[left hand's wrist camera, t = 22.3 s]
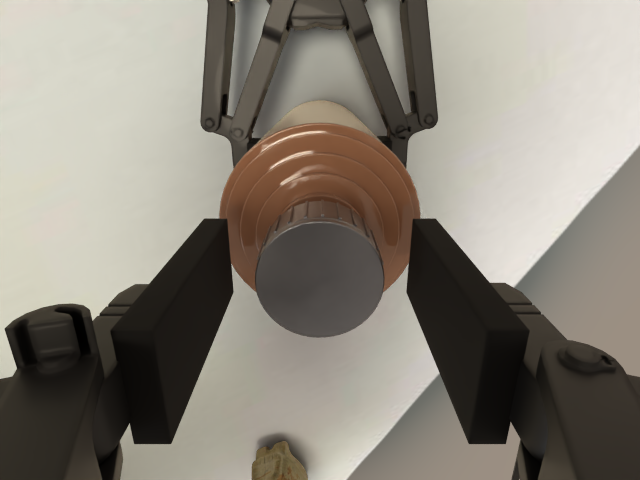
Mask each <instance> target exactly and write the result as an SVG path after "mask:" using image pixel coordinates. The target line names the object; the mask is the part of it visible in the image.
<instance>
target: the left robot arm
mask: <svg viewBox="0 0 640 480" xmlns="http://www.w3.org/2000/svg"><path fill="white" fill-rule="evenodd" d="M232 294H233V281H232V269H231V257H230V245H229V233H228V221H227V219H204V220H203V221H202V222H201V223H200V224H199V226H198V227H197V228H196V229H195V230H194V232H193V233H192V234H191V235H190V236H189V238H188V239H187V240H186V241H185V242H184V243H183V245H182V246H181V247H180V248H179V249H178V251H177V252H176V253H175V254H174V255H173V256H172V258H171V259H170V260H169V261H168V262H167V264H166V265H165V266H164V267H163V268H162V270H161V271H160V272H159V273H158V274H157V275H156V277H155V278H154V279H153V280H152V281H151V283H150V284H135V285H133V286H131V287H130V288H128V289H126V290H124V291H123V292H121V293H119V294H118V295H117V296H116V297H115V298H114V299H113V300H112V301H111V302H110V303H109V304H108V307H106V308H105V309H104V310H103V311H102V312H101V313H100V316H97V317H96V318H95V319H94V320H93V321H92V317H91V313H90V310H89V309H88V308H86V307H85V306H84V305H78V304H58V305H53V306H48V307H43V308H40V309H37V310H35V311H32V312H29V313H26V314H24V315H23V316H21V317H19V318H17V319H15V320H14V321H12V322H11V323H10V324H9V325H8V326H7V327H6V328H5V332H6V335H7V338H8V341H9V344H10V347H11V350H12V354H13V357H14V360H15V363H16V366H17V370H16V372H15V373H14V375H13V377H8V378H3V379H0V480H120V477H121V470H122V463H123V455H122V449H121V444H120V439H121V437H122V436H123V434H124V432H125V430H126V429H127V427H128V425H129V423H130V426H131V431H132V436H133V441H134V444H171V443H172V441H173V438H174V436H175V433H176V431H177V428H178V426H179V423H180V421H181V419H182V416H183V414H184V411H185V409H186V406H187V404H188V402H189V399H190V397H191V394H192V392H193V389H194V387H195V385H196V382H197V380H198V377H199V375H200V372H201V370H202V367H203V365H204V363H205V360H206V358H207V355H208V353H209V350H210V348H211V346H212V343H213V341H214V338H215V336H216V333H217V331H218V329H219V326H220V324H221V321H222V319H223V316H224V314H225V312H226V309H227V307H228V304H229V302H230V299H231V297H232ZM407 294H408V297H409V299H410V302H411V304H412V307H413V309H414V312H415V314H416V316H417V319H418V321H419V324H420V326H421V329H422V331H423V333H424V336H425V338H426V341H427V343H428V346H429V348H430V350H431V353H432V355H433V358H434V360H435V363H436V365H437V368H438V370H439V372H440V375H441V377H442V380H443V382H444V385H445V387H446V389H447V392H448V394H449V397H450V399H451V402H452V404H453V406H454V409H455V411H456V414H457V416H458V419H459V421H460V423H461V426H462V428H463V431H464V433H465V436H466V438H467V440H468V443H469V444H506V440H507V436H508V431H509V426H510V422H511V423H512V425H513V426H514V428H515V430H516V432H517V433H518V435H519V437H520V439H521V440H520V444H519V449H518V453H517V458H516V462H515V466H514V471H513V475H512V480H519V479H520V480H640V377H637V376H631V375H627V374H626V373H625V371H624V369H623V367H622V366H621V365H620V364H619V363H618V362H617V361H616V359H614V358H613V357H611V356H610V355H608V354H607V353H605V352H604V351H602V350H600V349H597V348H595V347H593V346H590V345H588V344H584V343H580V342H576V341H570V340H567V339H566V338H565V337H564V336H563V335H562V334H561V333H560V332H559V331H558V330H557V329H556V328H555V327H554V326H553V324H551V322H550V321H549V320H548V319H547V318H546V317H545V316H544V315H541V312H540V311H539V310H538V309H537V308H536V307H535V306H534V305H532V303H531V301H529V299H528V298H527V297H526V296H525V295H524V294H523V293H522V292H520V291H518V290H517V289H515V288H513V287H511V286H510V285H508V284H506V283H489V281H488V280H487V279H486V278H485V277H484V275H483V274H482V273H481V272H480V271H479V270H478V268H477V267H476V266H475V265H474V264H473V262H472V261H471V260H470V259H469V258H468V256H467V255H466V254H465V253H464V252H463V251H462V249H461V248H460V247H459V246H458V245H457V243H456V242H455V241H454V240H453V239H452V238H451V236H450V235H449V234H448V233H447V232H446V230H445V229H444V228H443V227H442V226H441V224H440V223H439V222H438V221H437V220H436V219H413V221H412V233H411V245H410V257H409V269H408V281H407Z"/></svg>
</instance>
